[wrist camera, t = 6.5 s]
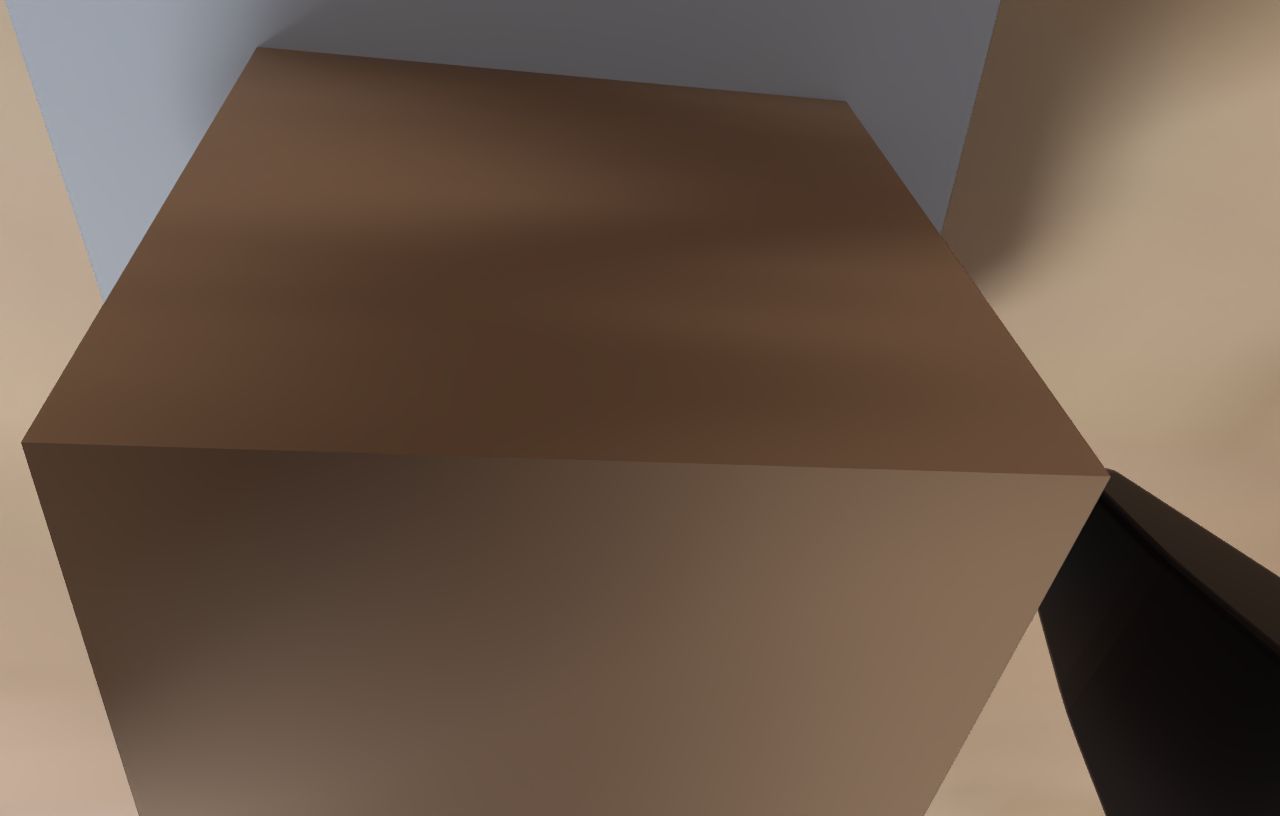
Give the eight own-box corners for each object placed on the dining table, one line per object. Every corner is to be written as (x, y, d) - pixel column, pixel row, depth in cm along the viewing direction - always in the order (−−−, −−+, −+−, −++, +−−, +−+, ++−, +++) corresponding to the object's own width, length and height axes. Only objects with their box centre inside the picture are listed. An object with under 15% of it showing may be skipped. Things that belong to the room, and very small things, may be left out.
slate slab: (883, -192, 11) (1032, -121, 8) (785, 388, 16) (853, 575, 13) (124, -223, 10) (-48, -156, 7) (266, 402, 15) (203, 606, 12)
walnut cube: (845, 102, 9) (1109, 476, 5) (740, 510, 12) (852, 944, 8) (256, 45, 8) (19, 441, 4) (303, 499, 11) (188, 978, 7)
